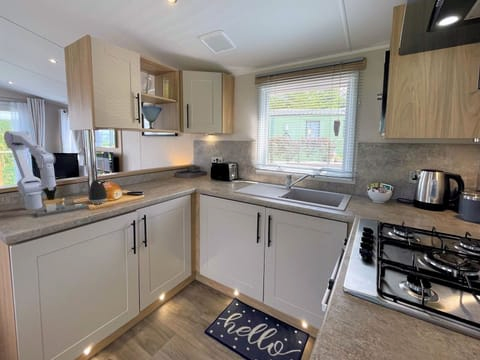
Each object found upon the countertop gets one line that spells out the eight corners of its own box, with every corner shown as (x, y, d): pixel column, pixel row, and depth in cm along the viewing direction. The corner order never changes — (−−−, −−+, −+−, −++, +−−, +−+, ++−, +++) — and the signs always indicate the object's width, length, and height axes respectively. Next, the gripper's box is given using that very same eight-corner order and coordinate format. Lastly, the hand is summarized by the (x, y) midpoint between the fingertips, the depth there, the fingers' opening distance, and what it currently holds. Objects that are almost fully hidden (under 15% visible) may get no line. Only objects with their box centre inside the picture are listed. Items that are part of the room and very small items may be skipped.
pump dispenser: (104, 205, 141) (102, 180, 139) (86, 205, 140) (83, 181, 137) (110, 201, 151) (108, 178, 149) (93, 201, 150) (91, 178, 147)
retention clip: (43, 203, 121) (43, 200, 121) (64, 200, 127) (64, 198, 127) (44, 204, 120) (43, 201, 119) (65, 201, 126) (64, 198, 125)
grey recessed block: (36, 214, 122) (34, 204, 121) (85, 206, 137) (84, 197, 136) (37, 219, 116) (36, 207, 115) (88, 210, 131) (87, 200, 130)
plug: (46, 212, 123) (45, 203, 122) (55, 211, 126) (54, 202, 125) (47, 214, 120) (46, 205, 119) (57, 212, 123) (55, 203, 122)
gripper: (36, 175, 124) (40, 200, 126) (39, 178, 114) (42, 205, 116) (53, 174, 129) (56, 197, 131) (57, 177, 119) (60, 202, 121)
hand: (51, 201), depth 124 cm, fingers closed
